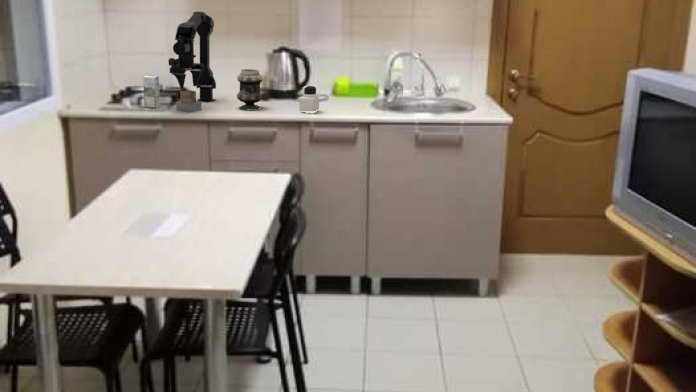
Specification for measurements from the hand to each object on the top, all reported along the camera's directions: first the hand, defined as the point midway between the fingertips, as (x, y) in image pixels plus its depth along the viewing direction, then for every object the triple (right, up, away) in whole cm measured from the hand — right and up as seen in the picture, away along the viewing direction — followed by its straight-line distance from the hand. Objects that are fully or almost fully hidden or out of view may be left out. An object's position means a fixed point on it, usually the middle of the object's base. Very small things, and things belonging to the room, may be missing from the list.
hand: (188, 87), depth 337 cm
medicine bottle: (+55, -10, +9) cm, 56 cm away
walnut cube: (0, -6, +2) cm, 7 cm away
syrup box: (-18, -8, +7) cm, 21 cm away
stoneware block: (0, -10, +3) cm, 11 cm away
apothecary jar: (+26, -8, +12) cm, 30 cm away
